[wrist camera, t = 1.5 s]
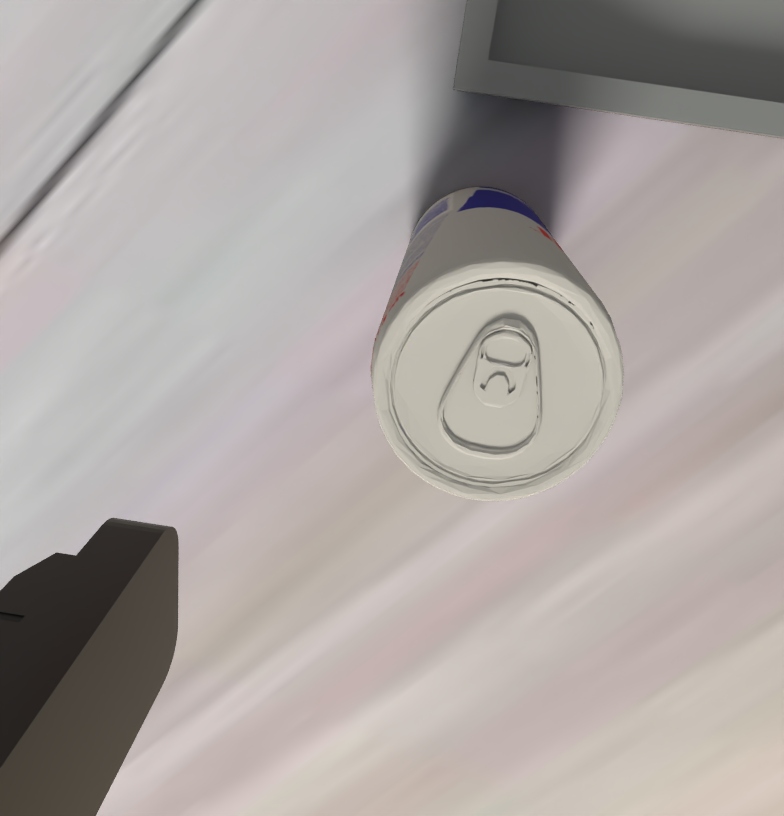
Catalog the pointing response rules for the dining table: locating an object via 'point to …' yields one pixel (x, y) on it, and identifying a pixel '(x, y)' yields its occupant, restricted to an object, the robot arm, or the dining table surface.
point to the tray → (633, 58)
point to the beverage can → (493, 353)
